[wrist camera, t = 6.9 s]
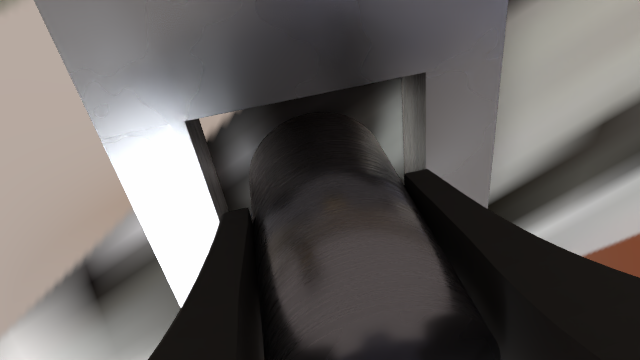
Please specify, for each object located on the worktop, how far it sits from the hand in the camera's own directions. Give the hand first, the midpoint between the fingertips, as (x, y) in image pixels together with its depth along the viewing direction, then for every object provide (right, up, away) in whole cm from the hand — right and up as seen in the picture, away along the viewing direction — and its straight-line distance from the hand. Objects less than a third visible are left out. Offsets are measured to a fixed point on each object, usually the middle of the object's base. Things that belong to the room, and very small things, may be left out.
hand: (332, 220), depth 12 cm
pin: (0, +1, +2) cm, 2 cm away
